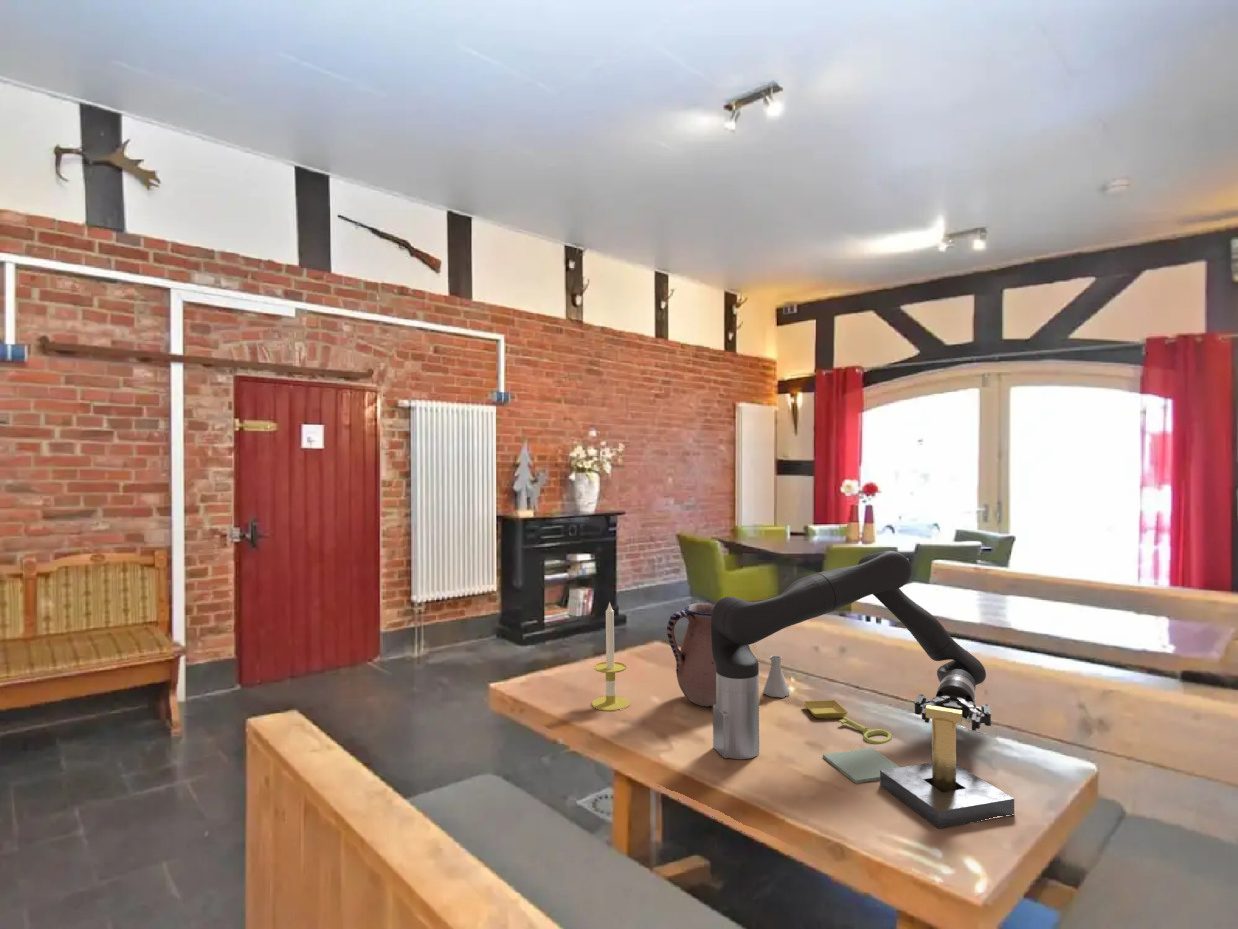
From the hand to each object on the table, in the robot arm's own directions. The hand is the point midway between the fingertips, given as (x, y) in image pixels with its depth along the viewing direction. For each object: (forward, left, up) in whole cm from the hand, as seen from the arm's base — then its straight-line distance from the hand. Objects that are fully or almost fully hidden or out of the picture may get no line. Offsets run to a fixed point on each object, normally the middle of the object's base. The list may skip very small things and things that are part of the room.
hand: (949, 721), depth 136 cm
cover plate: (-8, -8, -11) cm, 16 cm away
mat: (-14, +8, -11) cm, 20 cm away
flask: (-11, +52, -11) cm, 54 cm away
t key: (-8, -8, -11) cm, 16 cm away
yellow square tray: (-6, +36, -11) cm, 38 cm away
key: (-4, +22, -11) cm, 26 cm away
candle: (-56, +57, -11) cm, 81 cm away
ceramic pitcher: (-32, +51, -11) cm, 61 cm away
